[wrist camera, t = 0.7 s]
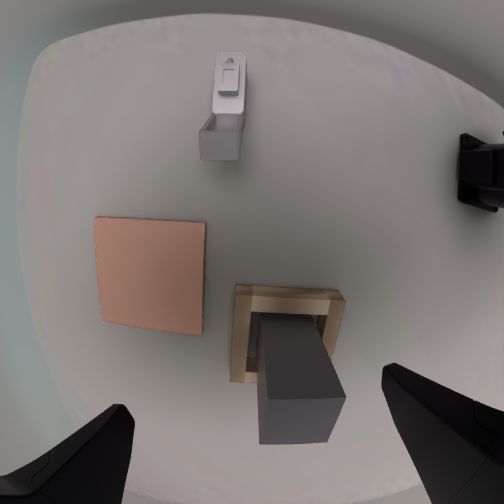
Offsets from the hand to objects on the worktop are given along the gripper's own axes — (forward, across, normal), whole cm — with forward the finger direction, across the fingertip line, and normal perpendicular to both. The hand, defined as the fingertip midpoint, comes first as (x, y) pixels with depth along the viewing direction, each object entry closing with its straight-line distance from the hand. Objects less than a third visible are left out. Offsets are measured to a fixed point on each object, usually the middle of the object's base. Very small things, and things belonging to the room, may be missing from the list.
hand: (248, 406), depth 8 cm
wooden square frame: (+13, -2, +6) cm, 15 cm away
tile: (+13, +8, -1) cm, 15 cm away
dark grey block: (+13, -2, +6) cm, 15 cm away
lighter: (+14, -1, -11) cm, 18 cm away
